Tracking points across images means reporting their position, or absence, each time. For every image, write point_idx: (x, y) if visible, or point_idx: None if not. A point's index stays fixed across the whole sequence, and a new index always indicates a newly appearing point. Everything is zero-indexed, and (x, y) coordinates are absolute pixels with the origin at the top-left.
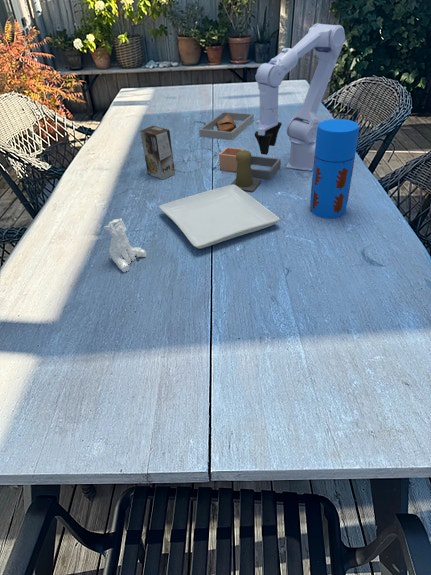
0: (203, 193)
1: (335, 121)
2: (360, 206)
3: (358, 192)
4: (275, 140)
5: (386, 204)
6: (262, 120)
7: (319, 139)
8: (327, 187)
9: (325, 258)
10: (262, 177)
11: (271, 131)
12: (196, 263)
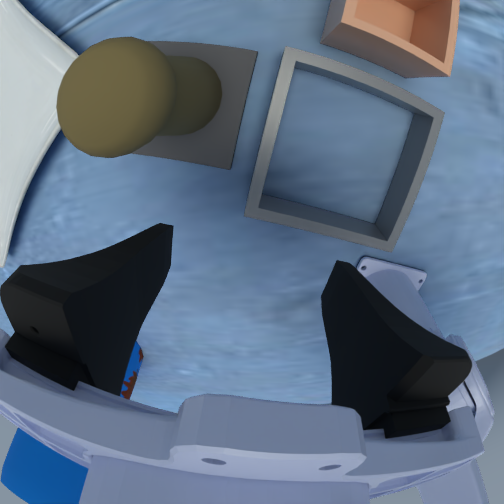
0: (28, 19)
1: None
2: (146, 386)
3: (203, 393)
4: (325, 331)
5: (169, 409)
6: (81, 501)
7: (5, 460)
8: None
9: (3, 315)
10: (254, 168)
11: (357, 362)
12: None
